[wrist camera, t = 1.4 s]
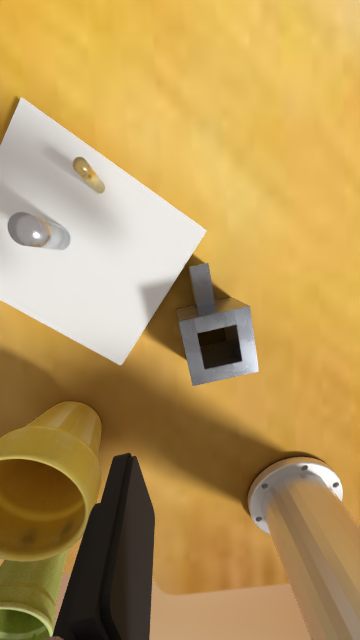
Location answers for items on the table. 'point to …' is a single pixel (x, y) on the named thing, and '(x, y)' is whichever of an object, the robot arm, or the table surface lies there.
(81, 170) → the brass dowel
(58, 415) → the plant pot
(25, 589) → the plant pot
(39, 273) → the board
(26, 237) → the steel post
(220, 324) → the grey socket block
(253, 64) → the table surface
